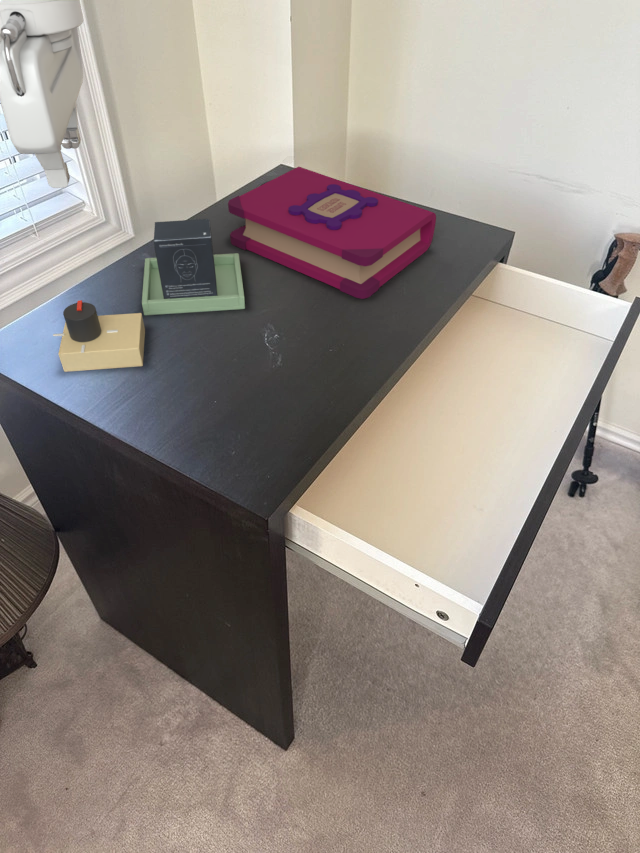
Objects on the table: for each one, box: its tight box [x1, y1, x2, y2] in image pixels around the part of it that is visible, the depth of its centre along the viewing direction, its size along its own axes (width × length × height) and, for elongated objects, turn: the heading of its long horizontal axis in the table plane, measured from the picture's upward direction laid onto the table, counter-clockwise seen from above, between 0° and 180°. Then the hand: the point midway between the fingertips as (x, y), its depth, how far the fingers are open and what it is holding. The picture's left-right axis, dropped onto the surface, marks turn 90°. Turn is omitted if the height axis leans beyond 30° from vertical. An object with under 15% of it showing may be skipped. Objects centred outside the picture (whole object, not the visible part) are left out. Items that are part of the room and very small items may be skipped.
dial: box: [62, 300, 101, 342], centre depth 82 cm, size 4×4×4 cm
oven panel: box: [52, 312, 146, 373], centre depth 84 cm, size 11×8×3 cm
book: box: [227, 166, 437, 300], centre depth 105 cm, size 21×28×8 cm
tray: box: [141, 252, 246, 316], centre depth 96 cm, size 15×13×2 cm
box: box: [152, 218, 218, 299], centre depth 91 cm, size 8×6×11 cm
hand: (66, 164), depth 63 cm, fingers open, 8 cm apart
